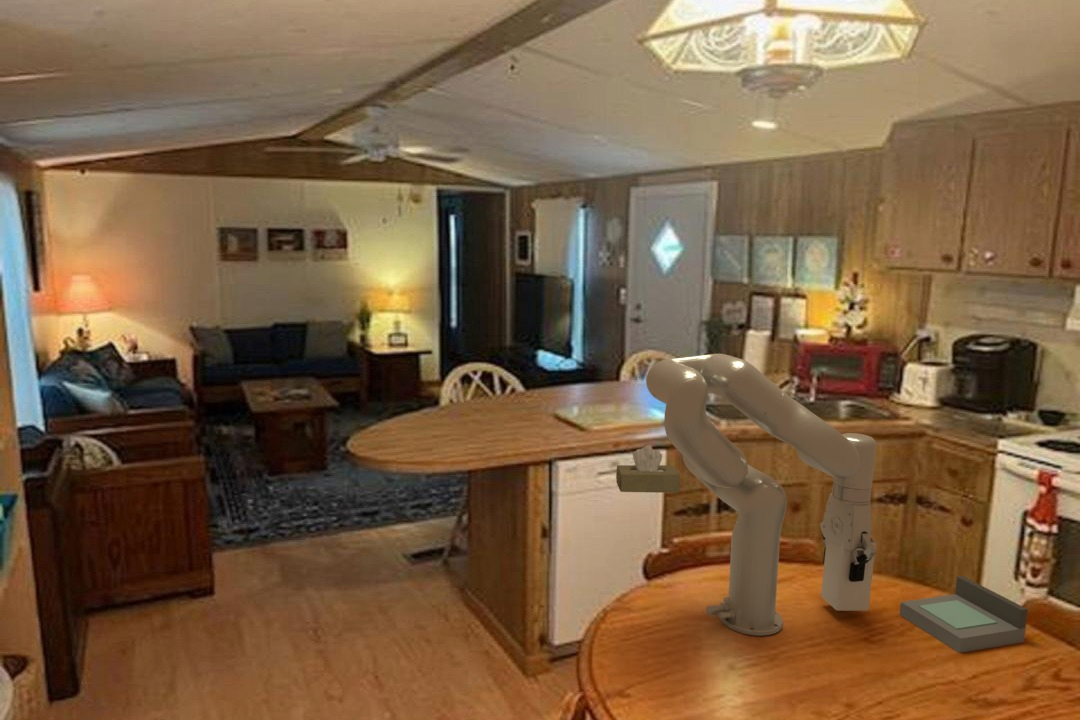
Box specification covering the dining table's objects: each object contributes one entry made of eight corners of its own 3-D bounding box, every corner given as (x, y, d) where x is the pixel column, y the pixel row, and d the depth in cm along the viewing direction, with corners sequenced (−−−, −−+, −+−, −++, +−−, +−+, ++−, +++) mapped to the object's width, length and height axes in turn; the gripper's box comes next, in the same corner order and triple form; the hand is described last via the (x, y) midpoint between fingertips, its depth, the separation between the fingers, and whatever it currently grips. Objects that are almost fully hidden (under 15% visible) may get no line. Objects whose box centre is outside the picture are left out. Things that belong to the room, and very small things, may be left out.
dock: (959, 652, 149) (962, 619, 148) (899, 615, 164) (902, 584, 163) (1023, 642, 153) (1027, 609, 152) (959, 606, 168) (962, 576, 167)
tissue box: (673, 489, 248) (675, 441, 246) (679, 499, 238) (681, 449, 236) (615, 489, 247) (616, 441, 245) (619, 499, 237) (621, 449, 235)
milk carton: (851, 597, 168) (860, 513, 166) (868, 611, 161) (878, 524, 159) (820, 597, 167) (829, 512, 165) (836, 611, 160) (845, 523, 158)
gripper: (810, 481, 168) (802, 557, 170) (864, 507, 151) (855, 591, 154) (839, 479, 170) (831, 555, 172) (896, 505, 153) (886, 588, 156)
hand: (842, 572), depth 163 cm, fingers closed on milk carton, 7 cm apart
